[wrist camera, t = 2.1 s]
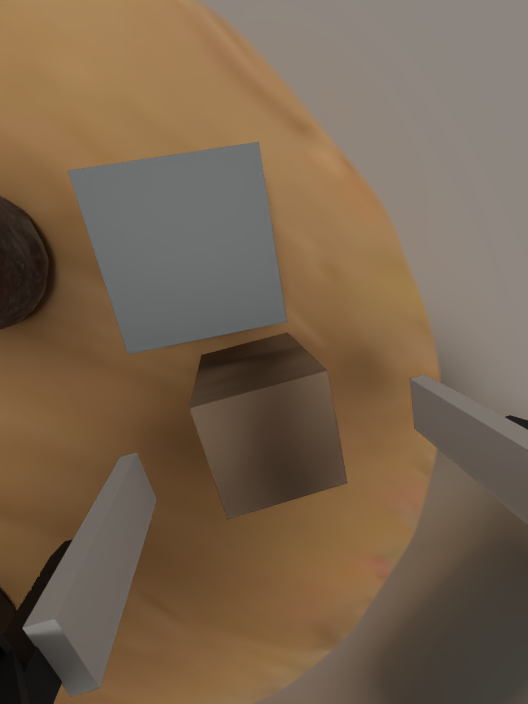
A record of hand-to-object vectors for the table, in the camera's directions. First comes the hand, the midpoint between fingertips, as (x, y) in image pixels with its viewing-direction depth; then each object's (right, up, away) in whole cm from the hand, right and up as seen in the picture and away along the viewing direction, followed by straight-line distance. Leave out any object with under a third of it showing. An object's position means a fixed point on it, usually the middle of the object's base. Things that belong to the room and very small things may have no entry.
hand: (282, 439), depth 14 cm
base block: (-5, +10, +4) cm, 12 cm away
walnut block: (-2, +2, +7) cm, 7 cm away
